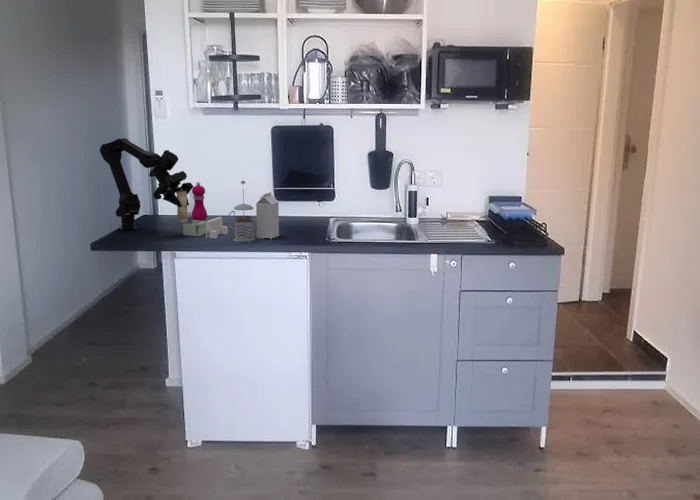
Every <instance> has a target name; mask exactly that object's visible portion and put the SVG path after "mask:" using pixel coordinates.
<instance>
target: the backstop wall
mask: <svg viewBox="0 0 700 500" xmlns="http://www.w3.org/2000/svg"><path fill="white" fill-rule="evenodd" d="M228 234H229V226H226V225H225V226H224V225H223V217H222V216H218V217H215V218H212V219H209V220H206V234H205V238H206V239H218V237H219V235H228Z"/></svg>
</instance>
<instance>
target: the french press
mask: <svg viewBox="0 0 700 500" xmlns="http://www.w3.org/2000/svg"><path fill="white" fill-rule="evenodd" d="M240 184H242V185H244V184H246V181H245V180H241V181H240ZM244 191H245V190H244V189H242V203H241V204H237V205H236V206H234V207H233V209H234V210H232V211H230V212H229V213H228V215H227V225H228V227H230V228H231V229H233V231H234V238H233V240H234V241H251V240H255V239H256V238H255V235H254V234H255V233H254V230H255V229H254V220H253V216H250V215H249V216H248V215H245V211H252V210H254V207H253V206H252V205H251V204H248V203H247V204H246V203H245V201H244V200H245V199H244V197H245V196H244V194H245V192H244ZM235 210H237V211H242V213H243V215H239V216H237V215H236V216H235V214H236V212H235ZM232 213H233V215H234V216H235V218H234V219H235V220H234V227H233V226H231V224H230V222H229V216H230V215H231V214H232Z"/></svg>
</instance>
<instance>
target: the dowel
mask: <svg viewBox="0 0 700 500" xmlns="http://www.w3.org/2000/svg"><path fill="white" fill-rule="evenodd" d="M176 197H177V199H178V200H179V202H180V203H181V205H182V206H181V207H178V206H176V207H177V223H178V222H179V223H187V222H188V220H189V219H188V206H187V199H188V194H187V192H186V191H177V193H176Z"/></svg>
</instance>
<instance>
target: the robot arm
mask: <svg viewBox="0 0 700 500" xmlns="http://www.w3.org/2000/svg"><path fill="white" fill-rule="evenodd" d="M123 152H126V153H127V154H129V155H131V156H132V157H134V158H136V159H137V160H138V162H139V164H141V166H142V167H144V168H146V169H150V170H149V175H148V177H149V178H152V177H154V178H155V179H156V181H157V182H158V184H157V185H158V186H157V187H156V189H155V190H154V191H153V195H152V197H154V199H155V201H157V200H161V199H162V200H163V201H167V202H169V203H170V204H172V205H174V206H176V207H177V206H178V207H181V206H182V205H181V203H180V202H179V200H178V199H177V191H186V192H187V195H189V193H190V192H191V191H192V189H193V187H194V185H193V184H192V182H183V183H182V181H185V180H186V179H187V177H188V174H187V173H186V172H185V171H184V170H181V171H179V172H175V173H173V174H170V172H169V171H172V169H173V168H174V167H175V166H176V164H177V163H178V161H179V157H178V155H177V154H175V153H173V152H171V151H170V150H169V149H167V150H163V153H162V154H161V155H159V154H158V153H157V152H156V153H155V152H152V151H147V150H145V149H143V148H142V147H140V146H139V145H136V143H133V142H131V141H130V140H129V139H128V138H127V137H125V138H124V137H123V138H116V139H115V140H113V141H111V142H107V143H103V144H101V146H100V148H99V153H100V155H101V157H102V159H103V160H104V161H105V162H106V163H107V165H109V168H110V171H111V173H112V176H113V179H114V182H115V184H116V185H115V186H116V188H117V190H118V193H119V199H118V205H119V206H118V208H117V209H116V211H115V216H116V217H119V218H120V222H121V226H120V227H119V229H120V230H121V231H133V230H136V231H137V230H138V228H137V227H136V220H135V216H139V214H140V208H141V201H140V198H139V195H138V194H137V193H134V192H132V190H131V188H130V185H129V182H128V179H127V177H126V176H127V175H126V173H125V170H124V168H123V165H122V162H121V160H122V157H123V154H122V153H123ZM151 168H152V169H151ZM181 183H182V184H181ZM162 196H163V198H162ZM189 205H190V203H189V199H188V198H187V207H189Z"/></svg>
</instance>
